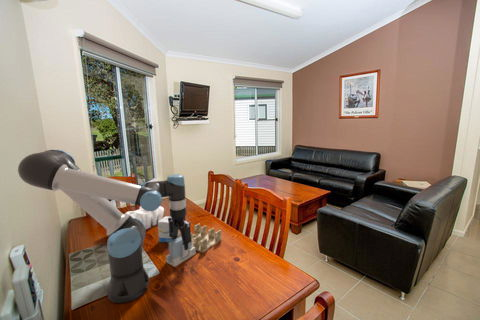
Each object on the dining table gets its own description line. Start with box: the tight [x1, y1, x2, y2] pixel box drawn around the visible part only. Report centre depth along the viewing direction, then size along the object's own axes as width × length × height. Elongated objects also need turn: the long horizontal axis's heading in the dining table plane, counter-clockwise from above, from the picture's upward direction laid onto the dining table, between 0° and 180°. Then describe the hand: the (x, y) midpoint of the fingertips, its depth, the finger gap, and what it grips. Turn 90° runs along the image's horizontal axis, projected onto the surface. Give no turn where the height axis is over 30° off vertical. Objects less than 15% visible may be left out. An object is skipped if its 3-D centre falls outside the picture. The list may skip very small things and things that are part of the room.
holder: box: [165, 247, 197, 268], centre depth 111 cm, size 13×6×3 cm, turn 144°
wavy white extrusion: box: [124, 205, 165, 231], centre depth 146 cm, size 35×16×10 cm, turn 141°
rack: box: [178, 222, 222, 254], centre depth 125 cm, size 15×17×6 cm
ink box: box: [157, 215, 180, 243], centre depth 130 cm, size 9×8×12 cm
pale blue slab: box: [168, 237, 192, 262], centre depth 110 cm, size 11×3×9 cm, turn 144°
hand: (181, 253), depth 111 cm, fingers open, 6 cm apart
